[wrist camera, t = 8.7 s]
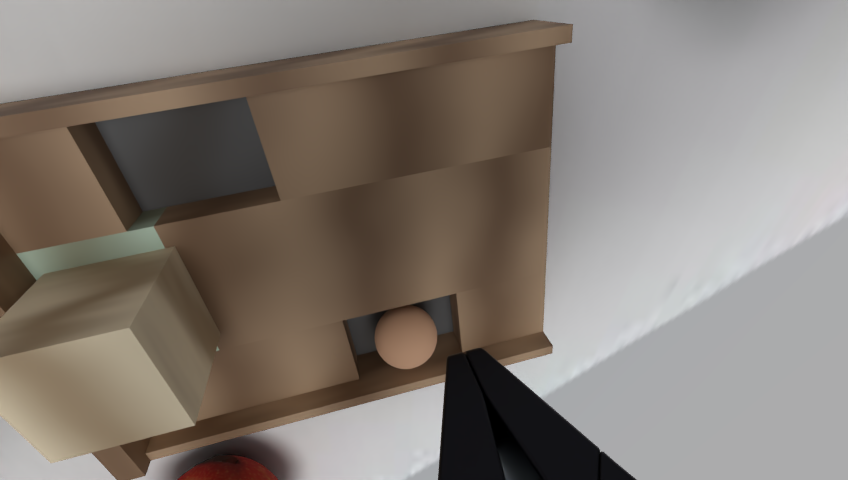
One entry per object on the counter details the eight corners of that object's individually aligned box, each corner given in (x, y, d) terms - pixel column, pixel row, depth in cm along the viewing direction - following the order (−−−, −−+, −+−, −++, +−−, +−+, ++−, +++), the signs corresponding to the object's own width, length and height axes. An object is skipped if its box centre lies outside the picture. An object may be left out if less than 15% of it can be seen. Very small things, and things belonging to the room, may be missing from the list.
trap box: (534, 19, 18) (584, 25, 14) (528, 317, 27) (559, 363, 23) (-76, 116, 15) (-191, 151, 11) (147, 413, 24) (119, 482, 20)
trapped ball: (425, 286, 23) (441, 326, 21) (432, 330, 25) (447, 373, 22) (365, 300, 23) (372, 343, 20) (376, 344, 25) (384, 389, 22)
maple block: (174, 246, 17) (129, 327, 13) (220, 333, 20) (195, 425, 16) (43, 273, 17) (-50, 368, 12) (108, 360, 19) (50, 463, 15)
